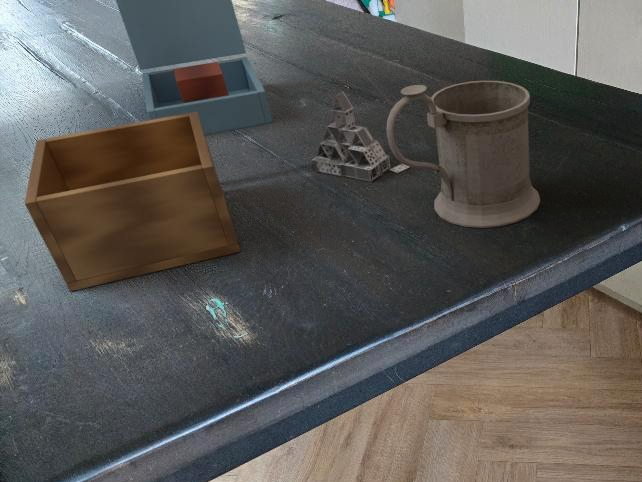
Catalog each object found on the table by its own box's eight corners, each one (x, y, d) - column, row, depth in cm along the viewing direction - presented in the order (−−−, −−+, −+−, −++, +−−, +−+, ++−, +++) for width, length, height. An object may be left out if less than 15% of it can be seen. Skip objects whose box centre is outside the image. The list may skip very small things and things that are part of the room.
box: (274, 128, 84) (265, 91, 81) (160, 150, 81) (146, 111, 78) (256, 91, 94) (246, 56, 92) (154, 109, 91) (141, 73, 88)
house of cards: (430, 152, 77) (421, 77, 72) (384, 185, 71) (371, 107, 66) (361, 140, 80) (348, 68, 75) (312, 171, 75) (294, 96, 70)
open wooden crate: (70, 292, 59) (24, 203, 54) (74, 220, 68) (35, 140, 63) (240, 252, 63) (212, 165, 58) (222, 190, 72) (197, 111, 67)
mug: (493, 170, 73) (485, 43, 65) (561, 201, 67) (561, 66, 59) (372, 219, 66) (347, 84, 58) (437, 259, 60) (419, 115, 52)
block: (191, 125, 84) (176, 81, 81) (187, 111, 87) (173, 68, 84) (235, 117, 85) (222, 73, 82) (230, 104, 89) (217, 61, 86)
